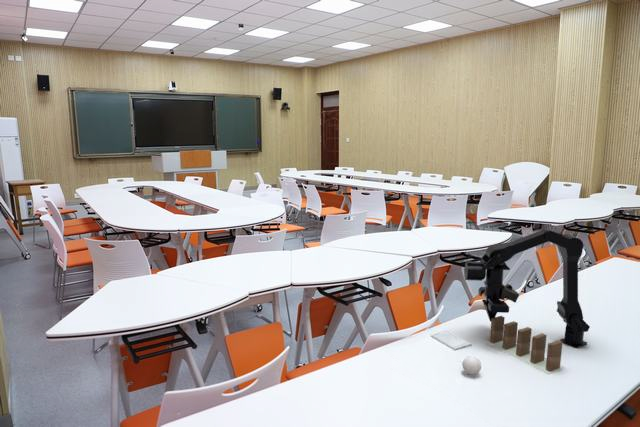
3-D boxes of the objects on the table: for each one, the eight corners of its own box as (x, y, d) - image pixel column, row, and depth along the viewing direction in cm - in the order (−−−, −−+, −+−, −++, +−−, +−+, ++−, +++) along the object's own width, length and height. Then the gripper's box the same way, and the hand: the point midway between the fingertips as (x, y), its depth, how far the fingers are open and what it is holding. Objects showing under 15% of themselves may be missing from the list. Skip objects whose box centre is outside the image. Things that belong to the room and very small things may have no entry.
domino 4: (530, 361, 149) (532, 336, 147) (539, 358, 151) (542, 333, 149) (534, 364, 147) (536, 338, 146) (544, 360, 150) (546, 335, 148)
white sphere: (483, 373, 142) (484, 357, 141) (475, 380, 138) (476, 363, 137) (461, 364, 147) (462, 348, 146) (452, 371, 144) (453, 354, 142)
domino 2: (502, 348, 158) (504, 324, 156) (511, 344, 160) (513, 321, 159) (506, 350, 157) (508, 325, 155) (515, 346, 159) (517, 322, 157)
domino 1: (489, 341, 163) (491, 318, 161) (499, 338, 165) (500, 315, 164) (493, 343, 161) (495, 320, 160) (502, 340, 164) (504, 317, 162)
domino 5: (545, 369, 144) (548, 343, 142) (555, 365, 146) (557, 339, 145) (550, 371, 142) (552, 345, 141) (559, 367, 145) (562, 341, 143)
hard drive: (430, 334, 167) (455, 348, 156) (447, 330, 171) (472, 343, 160) (430, 338, 167) (454, 352, 157) (447, 334, 171) (472, 347, 160)
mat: (501, 337, 167) (501, 336, 167) (565, 368, 145) (565, 367, 145) (484, 343, 163) (484, 342, 162) (547, 375, 141) (548, 374, 141)
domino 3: (515, 354, 153) (517, 330, 152) (525, 351, 156) (527, 327, 154) (519, 356, 152) (522, 331, 150) (529, 353, 154) (531, 328, 153)
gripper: (526, 290, 152) (523, 333, 155) (509, 273, 170) (506, 312, 173) (492, 289, 153) (489, 332, 156) (479, 272, 171) (476, 311, 174)
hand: (491, 321), depth 165 cm, fingers closed
